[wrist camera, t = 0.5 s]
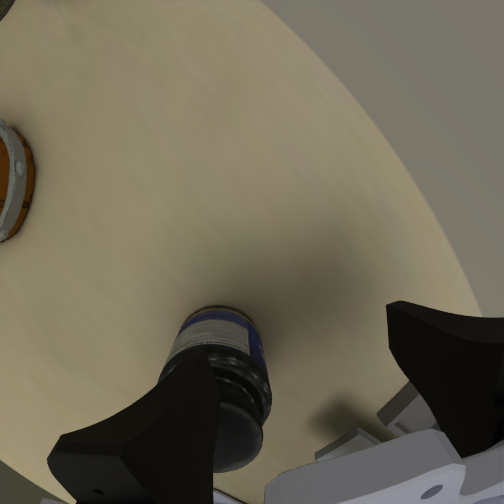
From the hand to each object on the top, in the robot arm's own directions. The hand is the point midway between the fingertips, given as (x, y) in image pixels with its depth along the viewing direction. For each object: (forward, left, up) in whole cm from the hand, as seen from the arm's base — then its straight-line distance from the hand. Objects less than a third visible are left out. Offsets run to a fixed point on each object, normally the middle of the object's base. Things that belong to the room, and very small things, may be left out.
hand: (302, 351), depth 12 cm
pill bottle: (-6, 0, -11) cm, 12 cm away
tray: (+1, -19, -11) cm, 22 cm away
